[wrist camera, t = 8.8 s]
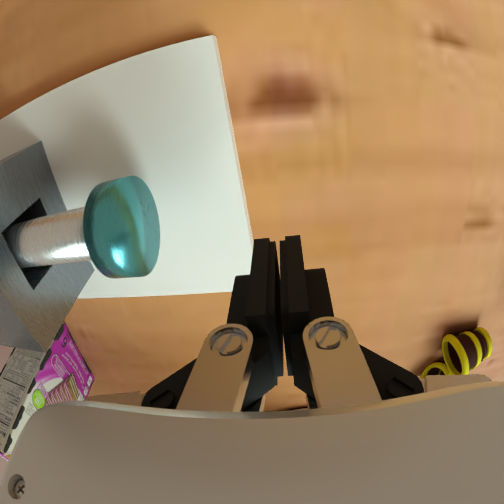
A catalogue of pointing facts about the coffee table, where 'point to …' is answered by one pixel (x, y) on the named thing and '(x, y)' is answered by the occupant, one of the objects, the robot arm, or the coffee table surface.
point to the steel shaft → (95, 232)
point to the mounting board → (151, 160)
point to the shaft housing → (39, 277)
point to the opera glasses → (461, 353)
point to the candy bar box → (39, 384)
